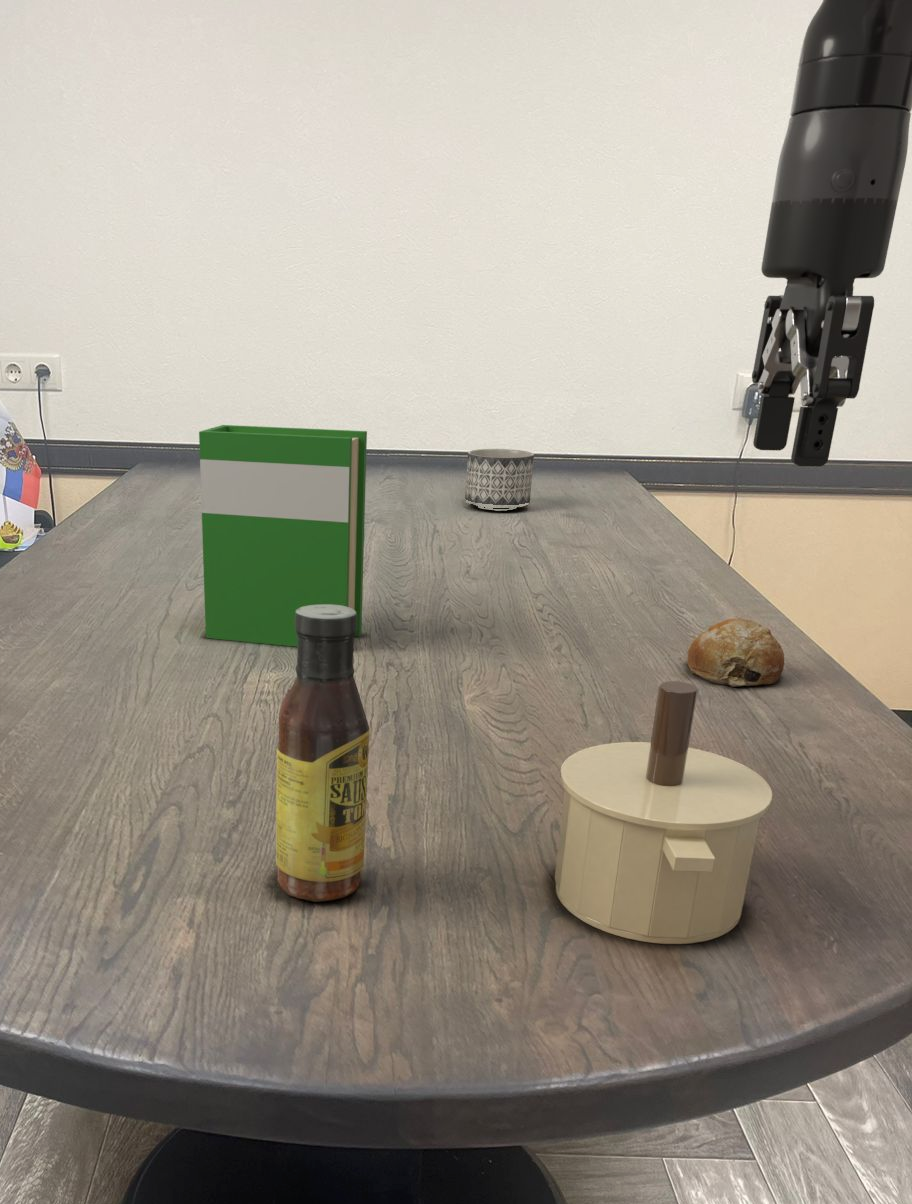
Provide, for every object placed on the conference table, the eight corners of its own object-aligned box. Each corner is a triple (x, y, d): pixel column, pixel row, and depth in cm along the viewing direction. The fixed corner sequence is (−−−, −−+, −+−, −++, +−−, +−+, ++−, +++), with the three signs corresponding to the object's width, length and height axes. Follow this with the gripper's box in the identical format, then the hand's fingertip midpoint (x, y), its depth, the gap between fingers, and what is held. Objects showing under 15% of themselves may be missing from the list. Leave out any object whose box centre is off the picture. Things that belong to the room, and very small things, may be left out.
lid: (736, 758, 80) (754, 658, 77) (798, 843, 68) (823, 727, 65) (547, 752, 81) (557, 652, 78) (575, 835, 69) (588, 720, 65)
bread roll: (693, 714, 122) (717, 660, 116) (668, 651, 128) (688, 597, 122) (780, 712, 123) (808, 659, 117) (750, 649, 129) (775, 596, 123)
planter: (526, 503, 223) (531, 449, 219) (531, 514, 212) (536, 458, 207) (463, 501, 224) (467, 448, 220) (465, 512, 213) (469, 456, 209)
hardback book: (361, 634, 137) (366, 431, 126) (345, 651, 130) (349, 438, 120) (227, 622, 141) (222, 424, 131) (205, 637, 135) (199, 431, 125)
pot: (704, 842, 86) (722, 739, 82) (778, 971, 69) (805, 850, 66) (540, 836, 86) (551, 734, 83) (575, 963, 70) (590, 843, 66)
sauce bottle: (342, 914, 75) (349, 630, 67) (260, 894, 77) (257, 617, 69) (377, 873, 80) (388, 605, 72) (300, 855, 83) (301, 594, 75)
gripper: (944, 187, 65) (882, 473, 72) (852, 205, 78) (807, 445, 84) (813, 187, 65) (764, 471, 72) (743, 204, 78) (707, 444, 85)
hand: (787, 457), depth 78 cm, fingers open, 8 cm apart
